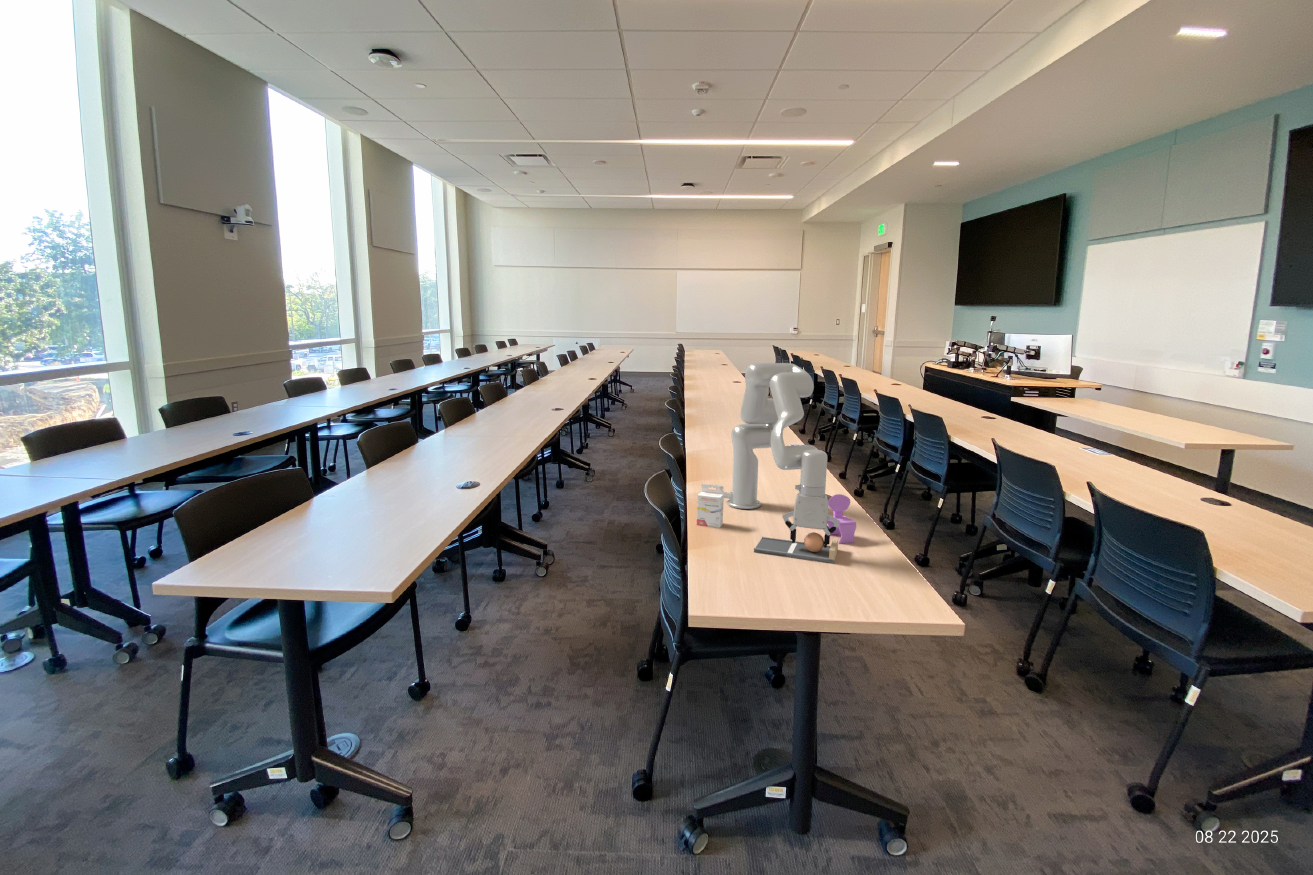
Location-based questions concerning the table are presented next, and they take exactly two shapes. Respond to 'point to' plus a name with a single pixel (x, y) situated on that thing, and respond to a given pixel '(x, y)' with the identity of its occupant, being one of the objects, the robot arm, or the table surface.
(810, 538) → the ball
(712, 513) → the ink cartridge box
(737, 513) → the table surface
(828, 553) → the lane
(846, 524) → the toy chair
